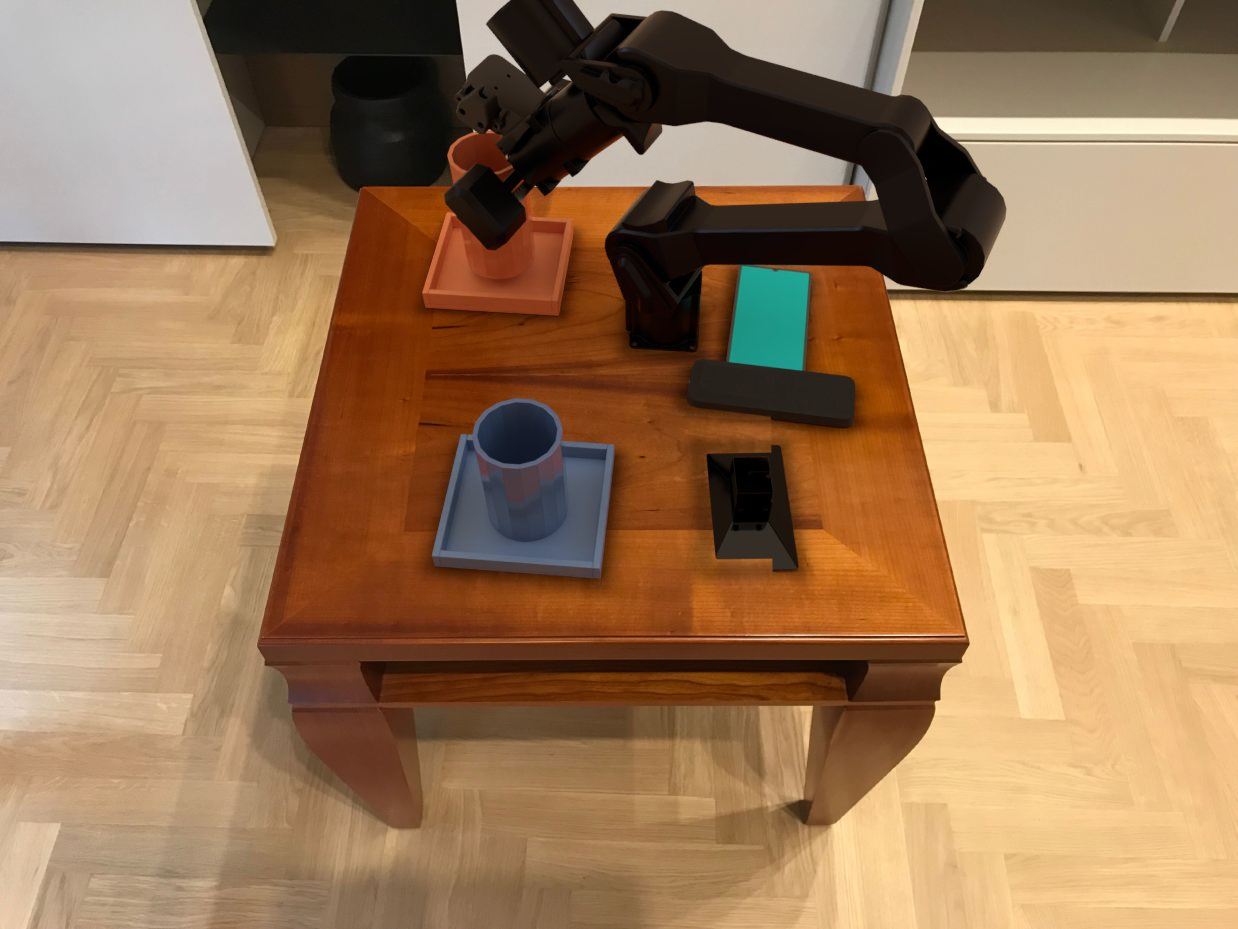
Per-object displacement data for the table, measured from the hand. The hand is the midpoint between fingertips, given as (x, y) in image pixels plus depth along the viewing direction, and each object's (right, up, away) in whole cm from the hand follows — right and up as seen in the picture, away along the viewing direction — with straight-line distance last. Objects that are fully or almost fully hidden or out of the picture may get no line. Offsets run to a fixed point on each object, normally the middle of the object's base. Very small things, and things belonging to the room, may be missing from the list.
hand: (481, 197), depth 89 cm
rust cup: (+1, -4, +5) cm, 7 cm away
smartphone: (+28, -12, +1) cm, 30 cm away
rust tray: (+1, -6, +6) cm, 8 cm away
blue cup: (+6, -29, -12) cm, 32 cm away
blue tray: (+6, -29, -11) cm, 32 cm away
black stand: (+24, -29, -11) cm, 39 cm away
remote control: (+27, -19, -4) cm, 33 cm away
